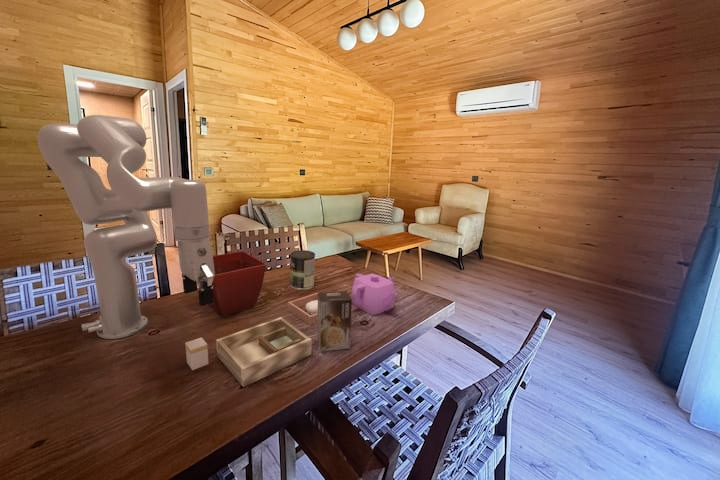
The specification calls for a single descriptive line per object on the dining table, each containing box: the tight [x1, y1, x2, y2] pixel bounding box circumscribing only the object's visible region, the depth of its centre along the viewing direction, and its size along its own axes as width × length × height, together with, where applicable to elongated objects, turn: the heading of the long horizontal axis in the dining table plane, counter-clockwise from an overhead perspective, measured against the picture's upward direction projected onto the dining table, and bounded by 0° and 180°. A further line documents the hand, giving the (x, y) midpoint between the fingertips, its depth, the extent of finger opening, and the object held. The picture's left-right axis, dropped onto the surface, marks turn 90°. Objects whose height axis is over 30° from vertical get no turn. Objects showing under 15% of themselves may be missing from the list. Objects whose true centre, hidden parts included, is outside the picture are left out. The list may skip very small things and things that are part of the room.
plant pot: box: [199, 250, 267, 317], centre depth 113 cm, size 19×19×17 cm
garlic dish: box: [287, 292, 319, 326], centre depth 115 cm, size 14×14×3 cm
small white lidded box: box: [184, 336, 209, 371], centre depth 83 cm, size 4×4×6 cm
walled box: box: [215, 316, 313, 388], centre depth 89 cm, size 20×16×5 cm
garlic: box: [304, 300, 318, 315], centre depth 115 cm, size 8×7×4 cm
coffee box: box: [316, 290, 353, 353], centre depth 94 cm, size 9×6×16 cm
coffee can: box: [289, 249, 316, 291], centre depth 135 cm, size 10×10×14 cm
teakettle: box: [350, 273, 399, 316], centre depth 121 cm, size 17×17×12 cm
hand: (198, 297), depth 81 cm, fingers open, 9 cm apart
